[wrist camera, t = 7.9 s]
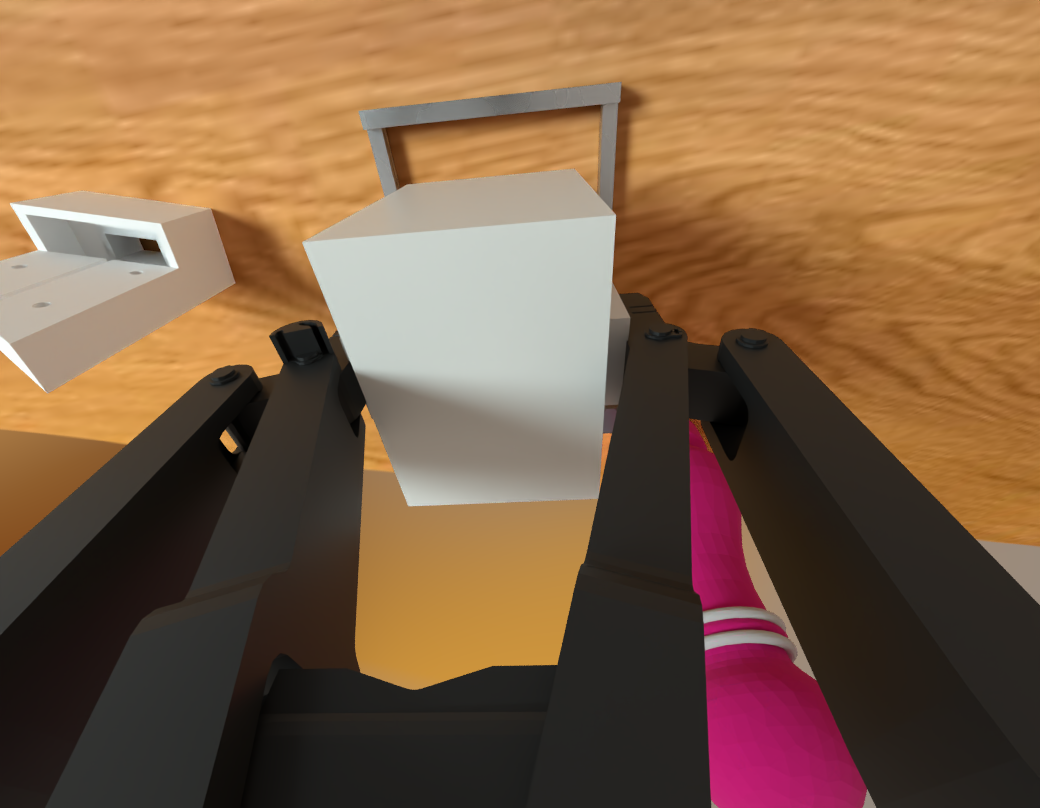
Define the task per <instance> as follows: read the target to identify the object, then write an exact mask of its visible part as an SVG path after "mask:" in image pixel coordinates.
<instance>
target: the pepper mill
mask: <svg viewBox="0 0 1040 808" xmlns="http://www.w3.org/2000/svg"><path fill="white" fill-rule="evenodd" d="M689 445H690V494H691V544H692V582H693V589H694V591H695V592H696V593H697V594H699V595H700V599H701V603H702V609H703V621H704V642H705V666H706V691H707V716H708V740H709V765H710V790H711V800H712V801H713V802H714V804H716V805H717V806H718V807H719V808H862V807H863V805H864V801H865V796H866V792H867V787H866V785H865V783H864V781H863V779H862V777H861V775H860V773H859V771H858V769H857V767H856V765H855V763H854V761H853V759H852V757H851V755H850V753H849V751H848V749H847V747H846V744H845V742H844V740H843V738H842V736H841V733H840V731H839V729H838V727H837V725H836V722H835V720H834V718H833V716H832V713H831V711H830V709H829V707H828V705H827V702H826V700H825V698H824V696H823V694H822V691H821V689H820V687H819V685H818V682H817V681H816V680H815V679H813V678H812V677H811V676H809V675H808V674H806V673H805V672H803V671H802V670H801V669H799V668H798V667H797V666H796V665H795V664H793V662H794V661H795V659H796V657H797V648H796V646H795V644H794V643H793V642H792V641H791V640H790V639H788V636H787V634H786V627H785V624H784V622H783V621H782V619H780V618H779V617H778V616H777V615H775V614H774V613H772V612H770V611H767V610H766V608H765V606H764V605H763V603H762V601H761V599H760V598H759V596H758V594H757V592H756V590H755V589H754V586H753V583H752V581H751V578H750V575H749V572H748V570H747V567H746V563H745V558H744V553H743V548H742V534H741V512H740V510H739V508H738V505H737V503H736V501H735V499H734V497H733V494H732V492H731V490H730V488H729V485H728V483H727V481H726V479H725V477H724V474H723V472H722V470H721V468H720V466H719V463H718V461H717V459H716V457H715V455H714V454H713V453H711V452H709V451H707V447H706V445H705V442H704V441H703V439H702V437H701V435H700V433H699V431H698V429H697V428H696V426H695V425H694V424H693V423H692V422H691V421H690V420H689Z"/></svg>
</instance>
